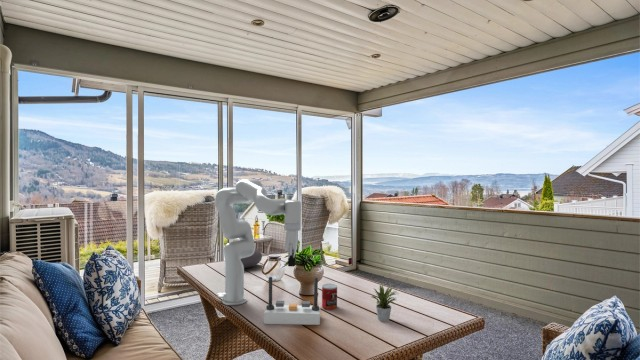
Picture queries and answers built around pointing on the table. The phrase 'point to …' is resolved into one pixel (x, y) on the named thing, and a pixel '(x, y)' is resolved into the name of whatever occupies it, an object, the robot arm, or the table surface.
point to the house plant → (384, 303)
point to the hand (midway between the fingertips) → (291, 265)
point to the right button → (305, 303)
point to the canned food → (329, 296)
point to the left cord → (270, 296)
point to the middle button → (292, 306)
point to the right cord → (315, 295)
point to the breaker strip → (292, 315)
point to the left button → (279, 303)
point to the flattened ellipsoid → (252, 259)
